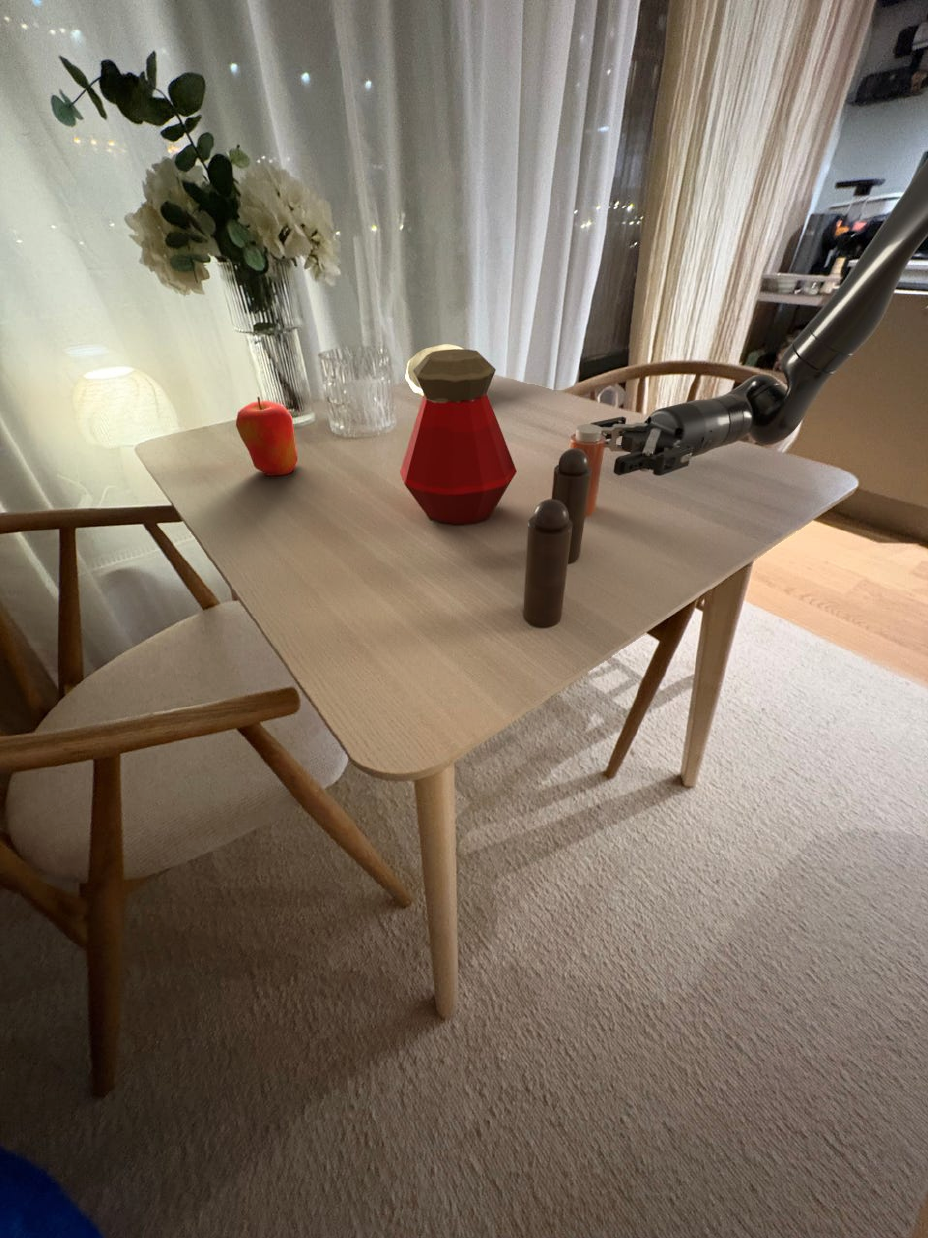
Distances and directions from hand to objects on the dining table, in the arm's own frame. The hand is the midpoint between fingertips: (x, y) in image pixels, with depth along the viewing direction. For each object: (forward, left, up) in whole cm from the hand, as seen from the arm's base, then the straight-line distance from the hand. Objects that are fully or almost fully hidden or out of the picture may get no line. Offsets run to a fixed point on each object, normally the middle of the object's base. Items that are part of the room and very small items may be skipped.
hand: (594, 455), depth 64 cm
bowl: (+37, -39, -8) cm, 54 cm away
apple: (+51, +1, -8) cm, 52 cm away
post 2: (+1, +13, -7) cm, 15 cm away
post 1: (+1, +25, -7) cm, 26 cm away
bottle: (+17, +6, -8) cm, 20 cm away
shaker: (+1, +1, -7) cm, 8 cm away
